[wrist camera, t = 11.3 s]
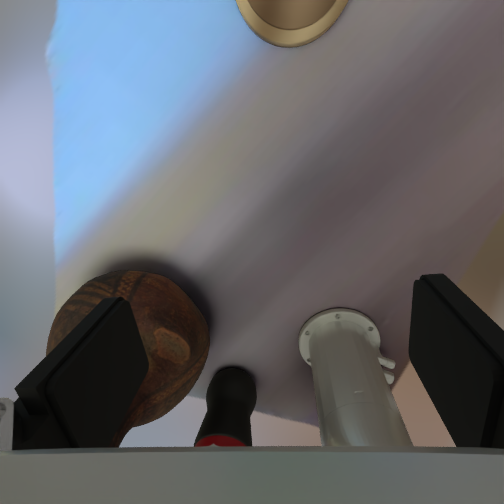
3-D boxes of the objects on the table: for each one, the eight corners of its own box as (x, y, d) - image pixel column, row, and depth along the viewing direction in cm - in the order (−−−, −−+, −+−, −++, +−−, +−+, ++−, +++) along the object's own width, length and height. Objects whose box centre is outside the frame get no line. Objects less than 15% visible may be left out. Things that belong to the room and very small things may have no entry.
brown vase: (209, 375, 55) (144, 632, 28) (90, 351, 55) (-92, 587, 28) (229, 270, 46) (160, 500, 19) (86, 240, 46) (-191, 431, 19)
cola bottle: (229, 355, 53) (179, 613, 26) (267, 380, 55) (257, 647, 28) (201, 381, 56) (129, 637, 29) (237, 404, 58) (203, 666, 31)
